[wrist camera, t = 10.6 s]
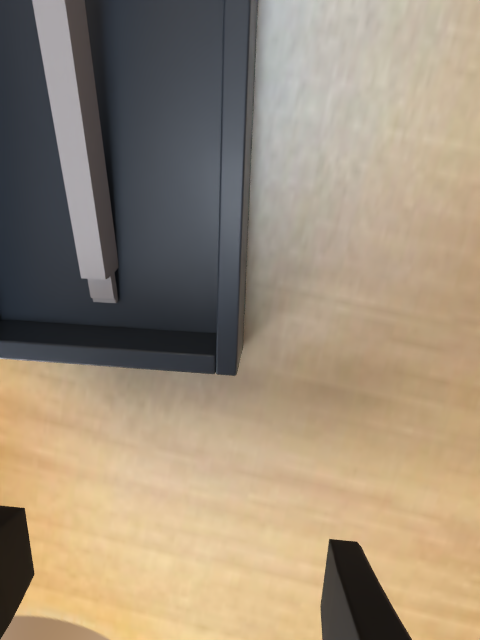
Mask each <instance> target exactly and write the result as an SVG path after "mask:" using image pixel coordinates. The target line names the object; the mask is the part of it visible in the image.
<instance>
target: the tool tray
mask: <svg viewBox="0 0 480 640" xmlns="http://www.w3.org/2000/svg"><path fill="white" fill-rule="evenodd" d="M85 8H86V16H87V24H88V31H89V39H90V47H91V55H92V63H93V71H94V79H95V87H96V94H97V102H98V110H99V118H100V125H101V133H102V141H103V148H104V156H105V164H106V171H107V179H108V187H109V194H110V202H111V210H112V218H113V225H114V233H115V241H116V248H117V256H118V267H119V268H118V269H117V270H116V271H115V280H116V287H117V295H118V303H104V302H93V298H91V296H90V290H89V285H88V279H85V278H81V274H80V269H79V263H78V258H77V252H76V246H75V241H74V235H73V229H72V224H71V218H70V213H69V207H68V201H67V196H66V190H65V184H64V179H63V173H62V168H61V162H60V156H59V151H58V145H57V139H56V134H55V128H54V122H53V116H52V111H51V105H50V99H49V94H48V88H47V82H46V77H45V71H44V65H43V59H42V54H41V48H40V42H39V37H38V31H37V25H36V20H35V14H34V8H33V2H32V0H0V359H13V360H27V361H40V362H54V363H68V364H82V365H95V366H109V367H123V368H137V369H150V370H164V371H178V372H192V373H206V374H215V372H216V374H218V375H232V376H235V375H236V374H237V371H238V367H239V362H240V358H241V354H242V350H243V337H244V314H245V290H246V267H247V243H248V220H249V196H250V173H251V149H252V126H253V102H254V79H255V55H256V32H257V8H258V0H85Z"/></svg>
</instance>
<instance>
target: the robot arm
mask: <svg viewBox="0 0 480 640" xmlns="http://www.w3.org/2000/svg"><path fill="white" fill-rule="evenodd" d="M33 576H34V568H33V561H32V554H31V548H30V541H29V534H28V527H27V521H26V514H25V508H18V507H8V506H0V639H1V637H2V636H3V634H4V632H5V631H6V629H7V628H8V626H9V624H10V623H11V621H12V619H13V617H14V615H15V613H16V611H17V609H18V607H19V605H20V603H21V601H22V599H23V597H24V595H25V593H26V591H27V589H28V587H29V585H30V582H31V580H32V578H33ZM321 622H322V639H323V640H412V639H411V637H410V636H409V634H408V632H407V631H406V629H405V627H404V626H403V624H402V622H401V621H400V619H399V617H398V615H397V614H396V612H395V610H394V608H393V607H392V605H391V603H390V601H389V599H388V598H387V596H386V594H385V592H384V590H383V589H382V587H381V585H380V583H379V581H378V579H377V577H376V575H375V574H374V572H373V570H372V568H371V566H370V564H369V562H368V560H367V558H366V556H365V554H364V552H363V550H362V547H361V546H360V545H359V544H358V543H357V542H353V541H343V540H334V539H329V546H328V553H327V561H326V569H325V576H324V584H323V592H322V600H321Z"/></svg>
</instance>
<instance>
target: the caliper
mask: <svg viewBox="0 0 480 640" xmlns="http://www.w3.org/2000/svg"><path fill="white" fill-rule="evenodd" d="M32 2H33V8H34V14H35V20H36V25H37V31H38V37H39V42H40V48H41V54H42V59H43V65H44V71H45V77H46V82H47V88H48V94H49V99H50V105H51V111H52V116H53V122H54V128H55V134H56V139H57V145H58V151H59V156H60V162H61V168H62V173H63V179H64V184H65V190H66V196H67V201H68V207H69V213H70V218H71V224H72V229H73V235H74V241H75V246H76V252H77V258H78V263H79V269H80V274H81V278H85V279H88V285H89V290H90V296H91V298H93V302H104V303H118V295H117V287H116V280H115V271H116V270H117V269H118V268H119V267H118V256H117V248H116V241H115V233H114V225H113V218H112V210H111V202H110V194H109V187H108V179H107V171H106V164H105V156H104V148H103V141H102V133H101V125H100V118H99V110H98V102H97V94H96V87H95V79H94V71H93V63H92V55H91V47H90V39H89V31H88V24H87V16H86V8H85V0H32Z"/></svg>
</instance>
